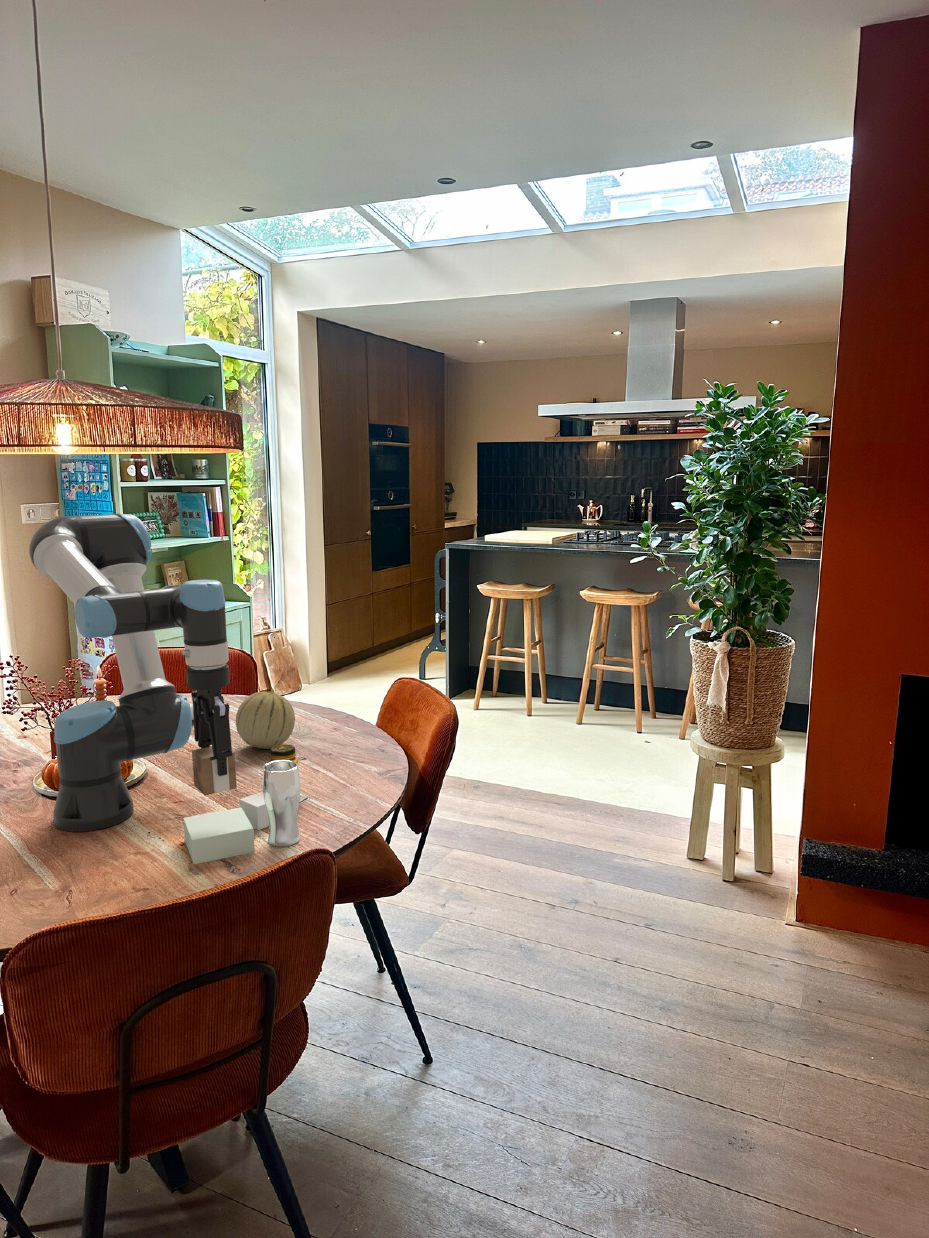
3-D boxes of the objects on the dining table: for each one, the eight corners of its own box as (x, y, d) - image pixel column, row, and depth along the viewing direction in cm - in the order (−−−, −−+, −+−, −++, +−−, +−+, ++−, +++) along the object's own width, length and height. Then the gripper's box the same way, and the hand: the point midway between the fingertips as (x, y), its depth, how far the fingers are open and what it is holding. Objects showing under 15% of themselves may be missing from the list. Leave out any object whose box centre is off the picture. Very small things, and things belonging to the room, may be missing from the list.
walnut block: (194, 785, 158) (191, 750, 157) (225, 778, 162) (223, 744, 161) (204, 795, 154) (202, 758, 152) (236, 788, 157) (234, 752, 156)
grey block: (240, 822, 171) (239, 799, 170) (265, 813, 175) (264, 790, 174) (258, 830, 167) (257, 806, 166) (283, 821, 171) (282, 797, 170)
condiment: (286, 809, 177) (283, 755, 175) (256, 802, 181) (253, 748, 179) (309, 797, 183) (306, 744, 181) (279, 790, 187) (276, 739, 185)
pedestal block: (185, 842, 162) (183, 817, 162) (242, 831, 167) (241, 807, 166) (193, 865, 153) (192, 840, 152) (254, 853, 157) (253, 828, 157)
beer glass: (305, 831, 166) (301, 759, 163) (299, 847, 159) (295, 771, 156) (269, 832, 165) (265, 759, 163) (262, 848, 159) (258, 772, 156)
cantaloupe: (226, 754, 211) (222, 696, 208) (254, 736, 225) (251, 682, 222) (280, 758, 208) (277, 700, 205) (305, 740, 222) (303, 685, 219)
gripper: (170, 659, 159) (179, 775, 163) (204, 678, 144) (213, 806, 148) (209, 653, 163) (217, 767, 167) (246, 671, 148) (254, 796, 152)
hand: (215, 785), depth 158 cm, fingers closed on walnut block, 6 cm apart
